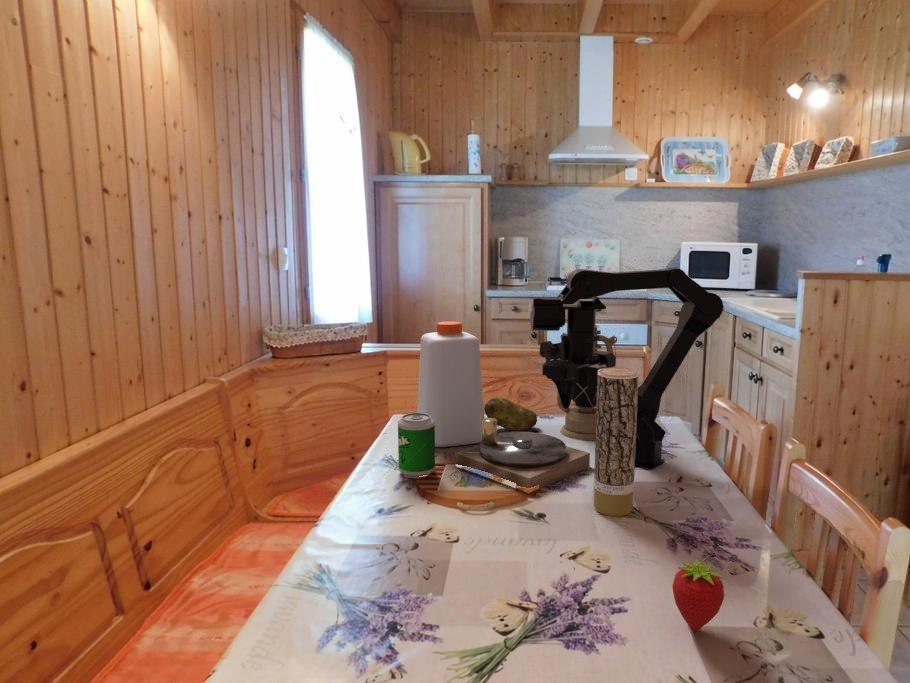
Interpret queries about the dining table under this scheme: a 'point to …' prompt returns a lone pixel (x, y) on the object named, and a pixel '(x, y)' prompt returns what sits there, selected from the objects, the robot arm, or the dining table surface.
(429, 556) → the dining table surface
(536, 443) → the handwheel
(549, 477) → the wheel base
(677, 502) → the dining table surface
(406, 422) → the soda can
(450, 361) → the plastic bottle
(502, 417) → the potato
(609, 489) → the paper tube
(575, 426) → the lantern
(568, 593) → the dining table surface
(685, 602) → the strawberry
